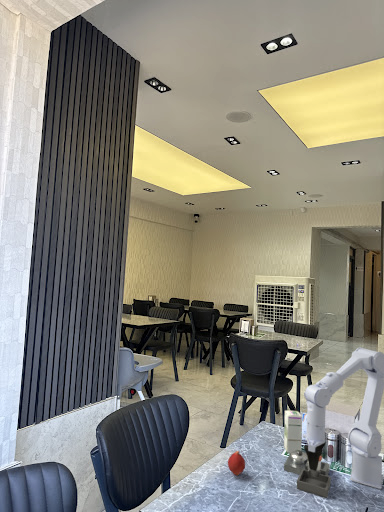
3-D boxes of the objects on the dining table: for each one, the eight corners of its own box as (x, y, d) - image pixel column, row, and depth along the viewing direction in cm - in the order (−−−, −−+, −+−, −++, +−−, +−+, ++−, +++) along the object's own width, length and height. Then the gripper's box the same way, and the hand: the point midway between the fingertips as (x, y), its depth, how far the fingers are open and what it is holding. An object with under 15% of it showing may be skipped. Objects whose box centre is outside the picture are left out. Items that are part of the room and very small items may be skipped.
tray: (330, 484, 119) (330, 476, 119) (326, 498, 111) (327, 490, 111) (302, 476, 123) (302, 468, 123) (296, 488, 115) (296, 480, 115)
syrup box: (301, 454, 140) (302, 415, 141) (286, 453, 140) (287, 414, 141) (297, 447, 145) (298, 410, 147) (283, 446, 146) (284, 409, 147)
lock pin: (322, 472, 119) (322, 453, 119) (320, 479, 114) (320, 460, 115) (307, 467, 121) (308, 450, 121) (305, 474, 117) (306, 456, 117)
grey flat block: (329, 469, 129) (330, 455, 129) (325, 482, 120) (326, 467, 120) (290, 458, 135) (290, 445, 136) (283, 470, 126) (284, 455, 127)
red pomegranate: (224, 476, 120) (226, 451, 121) (231, 469, 125) (232, 445, 126) (241, 481, 117) (242, 456, 118) (247, 474, 122) (248, 449, 123)
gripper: (307, 414, 127) (306, 454, 126) (299, 427, 114) (297, 472, 113) (328, 419, 123) (327, 460, 122) (322, 433, 111) (320, 479, 110)
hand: (314, 466), depth 117 cm, fingers closed on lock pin, 4 cm apart
